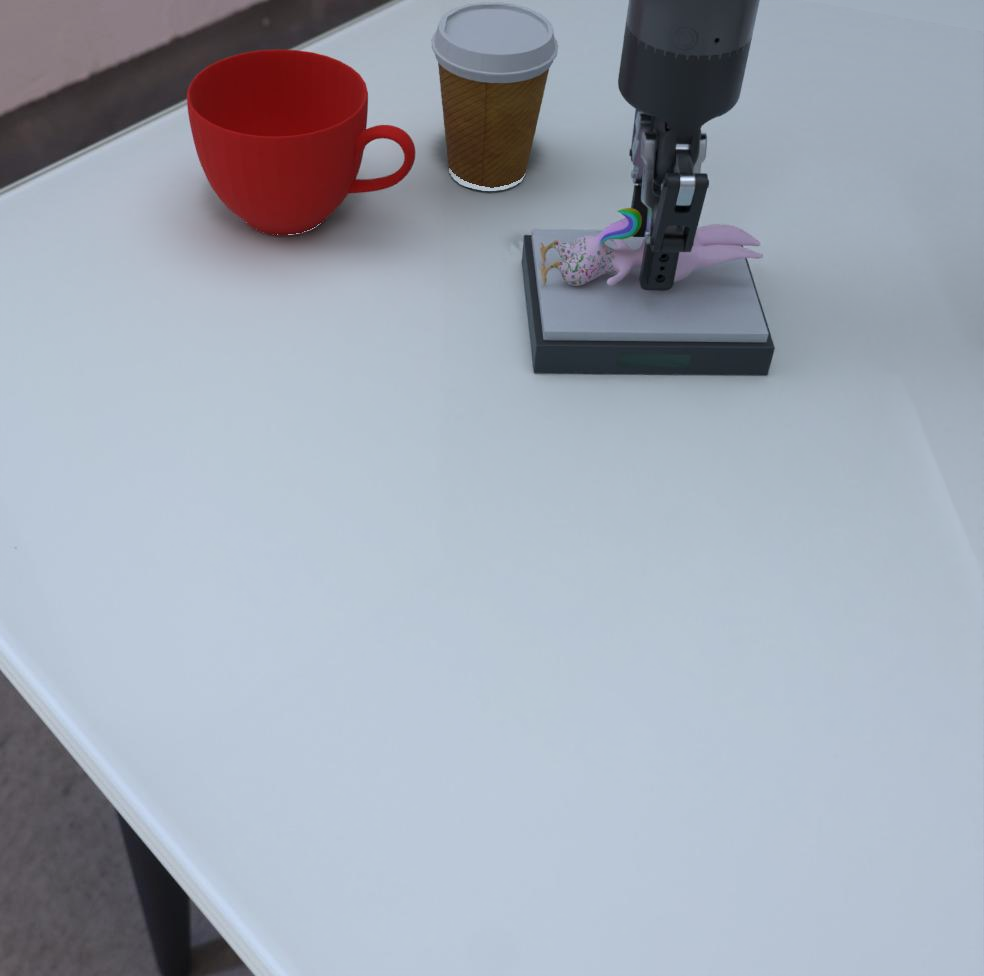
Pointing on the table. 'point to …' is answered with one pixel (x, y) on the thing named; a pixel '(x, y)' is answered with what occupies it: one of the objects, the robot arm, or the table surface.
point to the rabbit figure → (596, 258)
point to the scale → (643, 319)
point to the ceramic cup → (285, 136)
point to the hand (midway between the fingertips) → (649, 259)
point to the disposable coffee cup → (492, 87)
